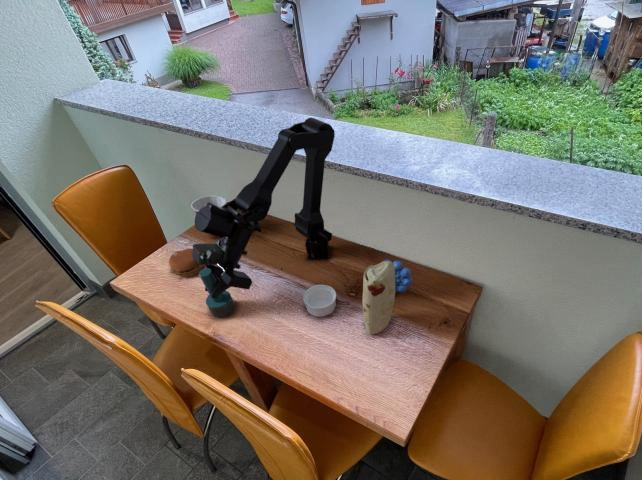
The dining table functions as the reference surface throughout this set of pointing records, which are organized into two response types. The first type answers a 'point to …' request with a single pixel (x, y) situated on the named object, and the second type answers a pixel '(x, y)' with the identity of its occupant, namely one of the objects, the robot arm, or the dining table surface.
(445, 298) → the dining table surface
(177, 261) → the burger
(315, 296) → the ramekin
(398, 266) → the grapes
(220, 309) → the teal peg stand
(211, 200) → the plastic cup
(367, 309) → the food model
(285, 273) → the dining table surface
